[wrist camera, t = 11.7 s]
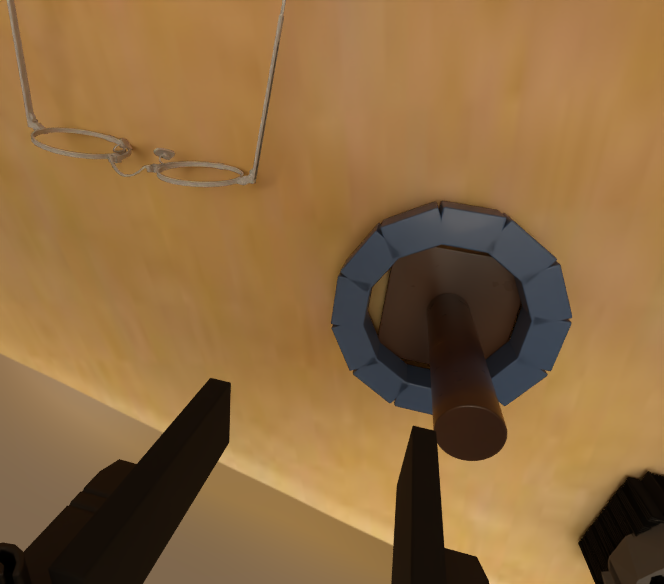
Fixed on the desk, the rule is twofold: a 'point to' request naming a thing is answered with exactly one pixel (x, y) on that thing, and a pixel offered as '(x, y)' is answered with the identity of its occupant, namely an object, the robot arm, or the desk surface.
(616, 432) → the desk surface
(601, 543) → the cpu cooler
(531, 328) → the dark blue segmented ring
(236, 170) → the eyeglasses
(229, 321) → the desk surface
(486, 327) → the stand
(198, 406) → the robot arm
